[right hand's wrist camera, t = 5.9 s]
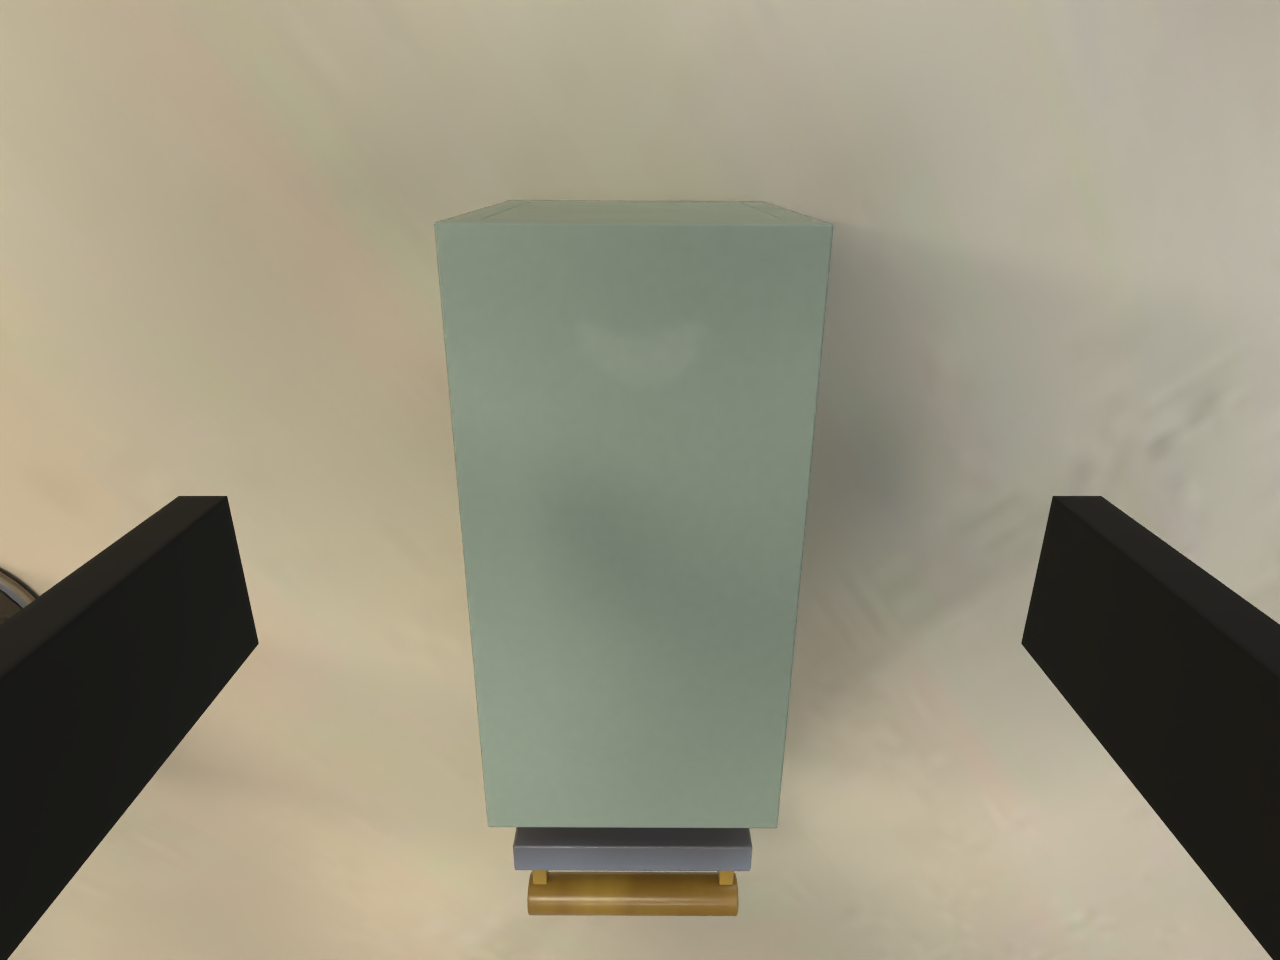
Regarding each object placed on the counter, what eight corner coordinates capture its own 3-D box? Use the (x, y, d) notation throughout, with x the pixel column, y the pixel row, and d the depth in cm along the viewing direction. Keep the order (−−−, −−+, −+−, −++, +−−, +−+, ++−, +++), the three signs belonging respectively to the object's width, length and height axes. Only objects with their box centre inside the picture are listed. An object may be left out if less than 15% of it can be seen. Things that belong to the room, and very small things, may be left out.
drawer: (721, 797, 40) (744, 982, 31) (547, 796, 40) (520, 981, 31) (748, 319, 31) (792, 384, 22) (522, 318, 31) (474, 382, 22)
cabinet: (737, 636, 38) (777, 829, 27) (531, 635, 38) (487, 827, 27) (764, 201, 30) (834, 224, 19) (507, 200, 30) (433, 221, 19)
